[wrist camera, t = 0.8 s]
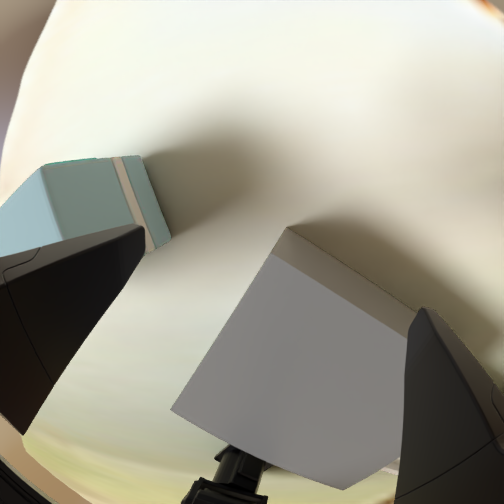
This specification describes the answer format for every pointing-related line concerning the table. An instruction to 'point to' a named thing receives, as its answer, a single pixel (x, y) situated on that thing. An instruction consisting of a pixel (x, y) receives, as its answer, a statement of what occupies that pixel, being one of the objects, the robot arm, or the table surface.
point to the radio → (81, 204)
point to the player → (307, 369)
